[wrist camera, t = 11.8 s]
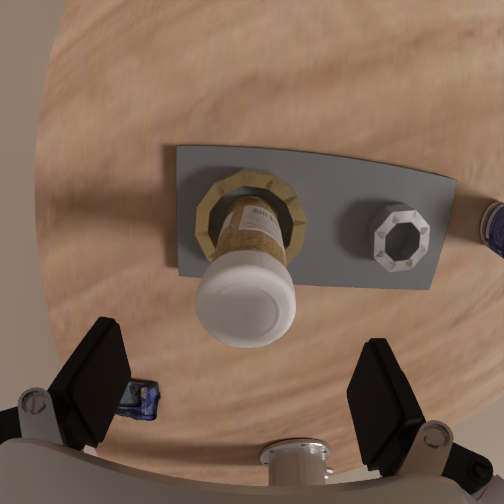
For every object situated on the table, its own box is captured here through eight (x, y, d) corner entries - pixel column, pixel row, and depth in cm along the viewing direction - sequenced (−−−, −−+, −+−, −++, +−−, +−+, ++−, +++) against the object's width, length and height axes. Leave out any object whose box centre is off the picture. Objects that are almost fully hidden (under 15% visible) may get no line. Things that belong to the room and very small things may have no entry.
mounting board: (449, 177, 24) (457, 180, 23) (422, 283, 29) (428, 289, 27) (181, 144, 24) (176, 145, 23) (182, 268, 29) (178, 275, 27)
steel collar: (426, 228, 25) (439, 237, 22) (389, 269, 27) (399, 282, 24) (392, 190, 24) (404, 197, 21) (353, 236, 25) (361, 246, 23)
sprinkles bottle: (215, 214, 25) (173, 301, 13) (259, 183, 24) (257, 246, 12) (247, 254, 26) (235, 364, 14) (290, 226, 25) (316, 323, 13)
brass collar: (321, 211, 25) (327, 220, 22) (259, 280, 27) (259, 295, 25) (241, 148, 23) (239, 150, 20) (183, 227, 26) (175, 237, 23)
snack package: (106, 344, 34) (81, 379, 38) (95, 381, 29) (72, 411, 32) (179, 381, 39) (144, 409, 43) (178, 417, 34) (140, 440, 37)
